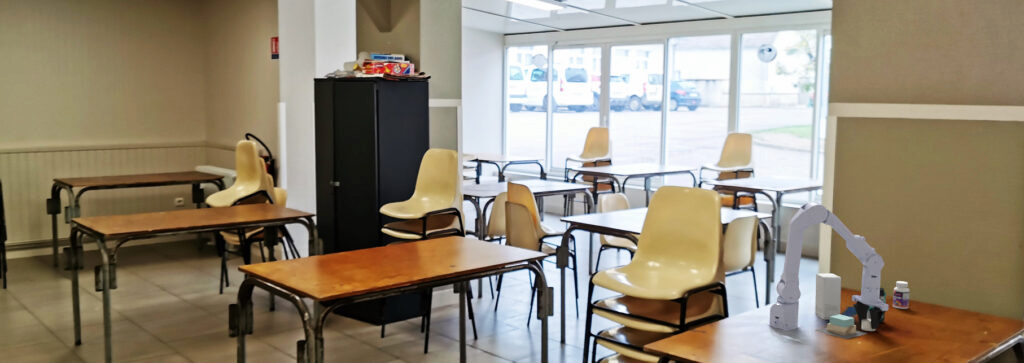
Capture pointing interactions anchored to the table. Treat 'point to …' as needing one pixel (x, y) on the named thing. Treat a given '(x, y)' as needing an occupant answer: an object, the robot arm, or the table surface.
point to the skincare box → (827, 295)
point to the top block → (841, 321)
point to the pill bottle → (901, 295)
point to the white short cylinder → (866, 325)
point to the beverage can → (883, 299)
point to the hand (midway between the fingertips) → (868, 326)
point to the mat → (858, 333)
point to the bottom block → (841, 329)
